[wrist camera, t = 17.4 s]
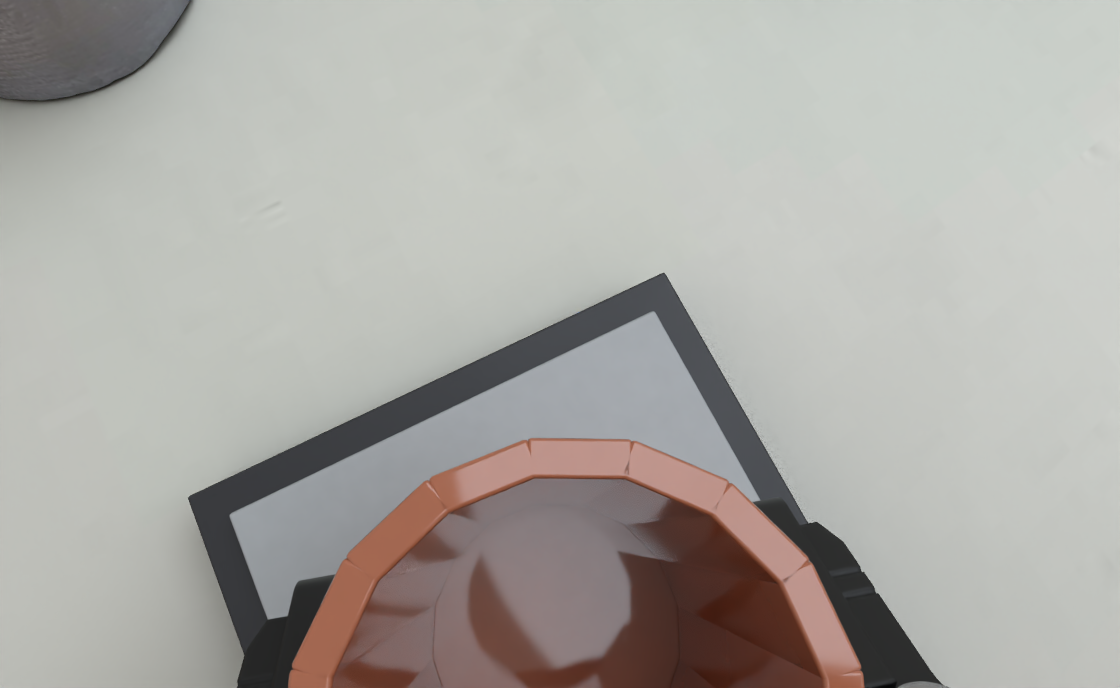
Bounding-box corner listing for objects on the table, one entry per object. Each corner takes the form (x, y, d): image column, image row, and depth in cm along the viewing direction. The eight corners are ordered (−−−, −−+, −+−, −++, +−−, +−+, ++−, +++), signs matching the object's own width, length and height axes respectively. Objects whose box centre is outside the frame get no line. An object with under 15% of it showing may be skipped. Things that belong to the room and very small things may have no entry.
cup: (688, 487, 17) (841, 441, 9) (700, 784, 16) (908, 1098, 7) (424, 485, 17) (311, 434, 8) (407, 786, 15) (242, 1112, 7)
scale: (912, 754, 18) (971, 789, 16) (428, 1057, 16) (408, 1154, 14) (653, 294, 22) (668, 263, 19) (221, 500, 19) (174, 495, 17)
